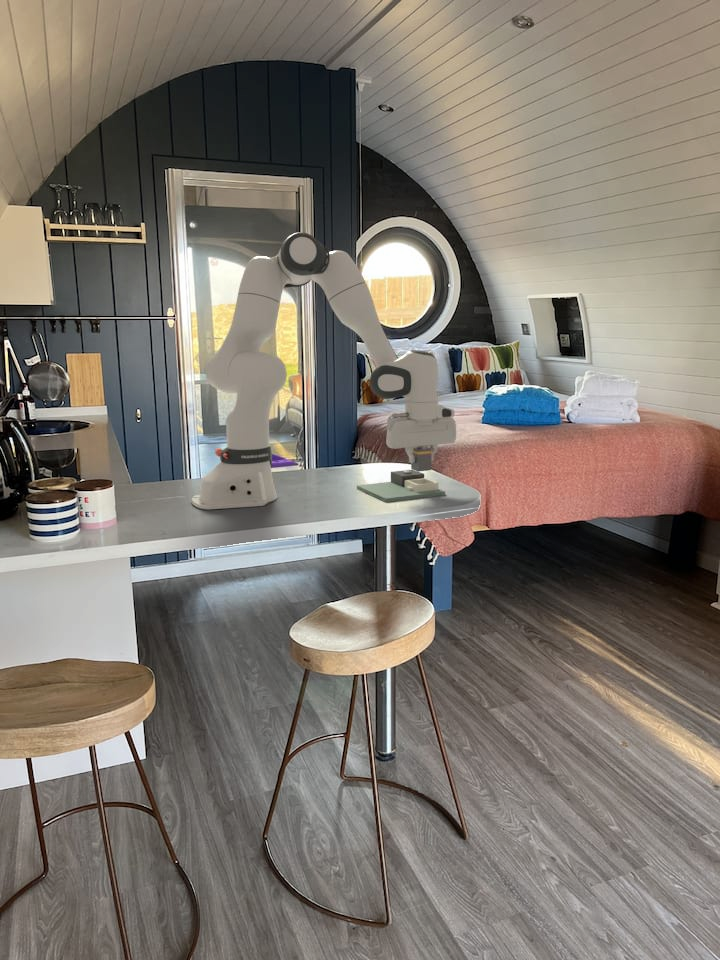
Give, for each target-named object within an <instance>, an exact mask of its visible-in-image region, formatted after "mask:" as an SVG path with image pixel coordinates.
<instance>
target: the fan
mask: <svg viewBox="0 0 720 960" xmlns="http://www.w3.org/2000/svg"><path fill="white" fill-rule="evenodd" d="M422 478H425V473H423V472H422V471H419V472H418V471H416V470H413V469H405V470H396V471H390V482H392V483H394V484H397V485H399V486H402V487H405V480H413V479H422Z"/></svg>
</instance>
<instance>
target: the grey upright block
mask: <svg viewBox="0 0 720 960" xmlns="http://www.w3.org/2000/svg"><path fill="white" fill-rule="evenodd" d="M411 452H412V454H413V456H415V457H417V460H416V461H417V462H416V463H410V468H411V469H410V470H415V471H418V472H424V471H432V461H431V453H432V451H431V448H429V446H418V447H413V451H411Z"/></svg>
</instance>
